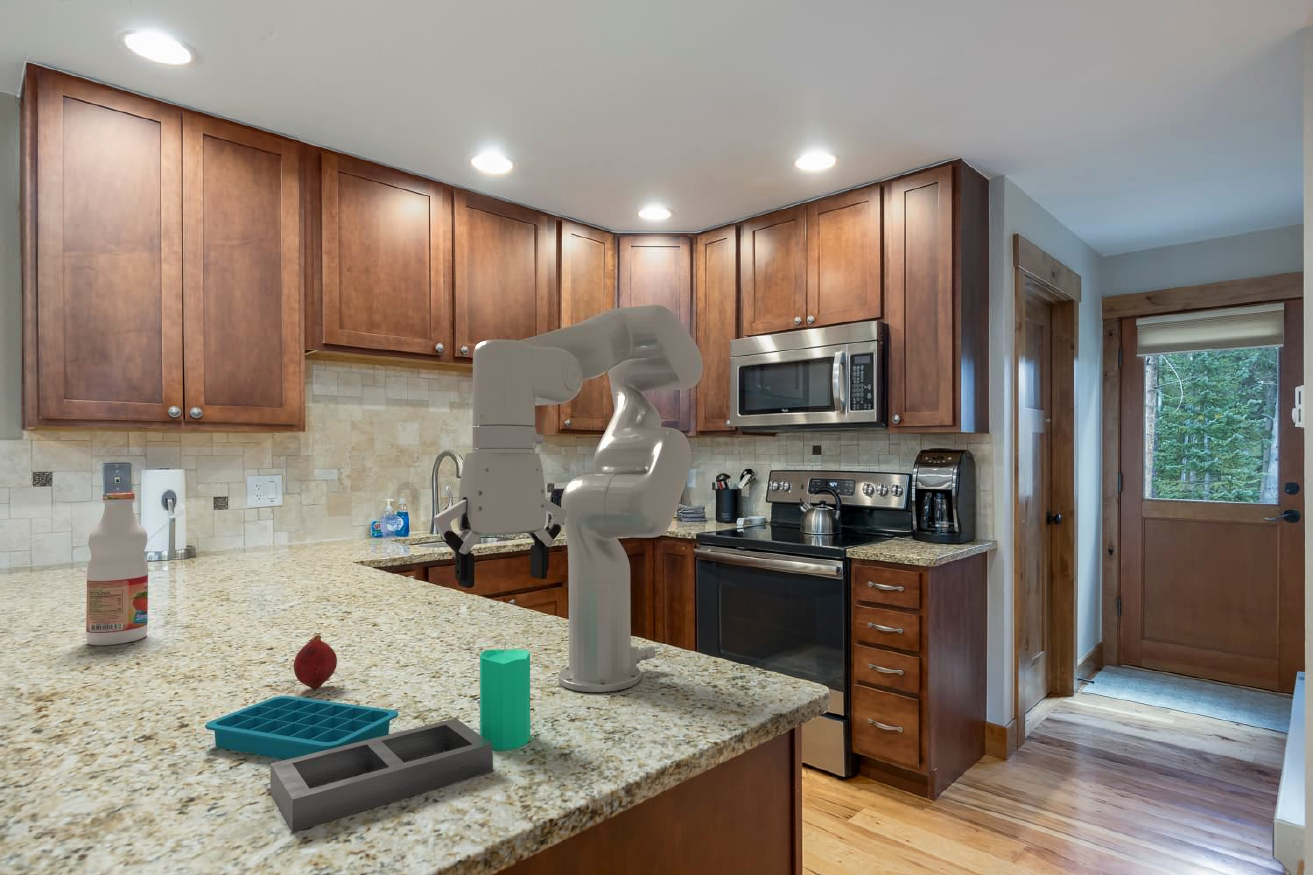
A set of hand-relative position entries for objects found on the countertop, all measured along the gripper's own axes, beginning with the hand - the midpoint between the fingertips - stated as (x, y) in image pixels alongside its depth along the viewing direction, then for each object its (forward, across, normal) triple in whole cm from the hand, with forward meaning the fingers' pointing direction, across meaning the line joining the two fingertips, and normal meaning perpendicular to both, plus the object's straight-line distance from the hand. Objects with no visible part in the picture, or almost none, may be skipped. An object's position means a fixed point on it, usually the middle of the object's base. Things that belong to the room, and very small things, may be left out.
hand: (503, 582), depth 87 cm
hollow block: (+19, +15, +2) cm, 24 cm away
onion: (+19, +13, -36) cm, 43 cm away
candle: (+19, 0, 0) cm, 19 cm away
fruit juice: (+19, +35, -92) cm, 100 cm away
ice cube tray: (+20, +19, -16) cm, 32 cm away
